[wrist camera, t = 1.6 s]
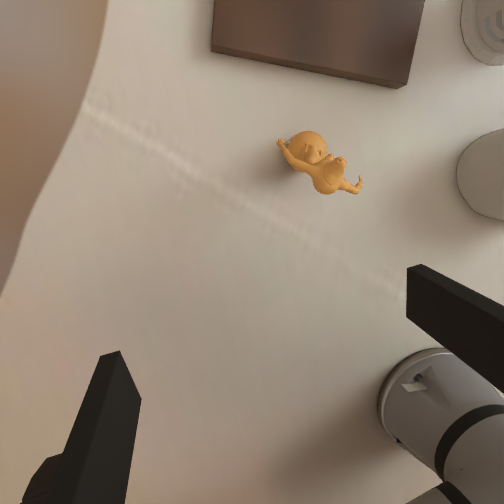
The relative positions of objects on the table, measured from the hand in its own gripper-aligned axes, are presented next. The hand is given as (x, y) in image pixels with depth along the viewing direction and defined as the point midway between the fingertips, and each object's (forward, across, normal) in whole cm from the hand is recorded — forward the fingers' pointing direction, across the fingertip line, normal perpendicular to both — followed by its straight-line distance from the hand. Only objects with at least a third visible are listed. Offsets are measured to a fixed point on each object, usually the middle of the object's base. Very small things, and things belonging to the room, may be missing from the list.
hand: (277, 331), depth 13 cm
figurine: (+21, -9, -4) cm, 23 cm away
